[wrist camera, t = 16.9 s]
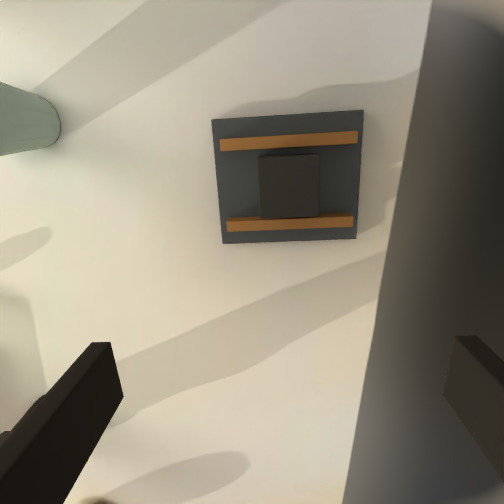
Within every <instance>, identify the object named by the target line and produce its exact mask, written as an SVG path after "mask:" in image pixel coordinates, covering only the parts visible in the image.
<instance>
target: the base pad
mask: <svg viewBox="0 0 504 504" xmlns="http://www.w3.org/2000/svg"><path fill="white" fill-rule="evenodd" d="M363 114H364V110H353V111H338V112H322V113H307V114H291V115H275V116H260V117H244V118H228V119H213V120H211V121H212V132H213V143H214V154H215V165H216V176H217V187H218V198H219V209H220V220H221V231H222V242H223V244H232V243H258V242H285V241H311V240H337V239H356V233H357V216H358V199H359V182H360V165H361V148H362V131H363ZM308 153H314V154H319V155H320V194H319V216H313V217H290V218H266V219H260V202H259V181H258V157H259V156H272V155H290V154H308Z"/></svg>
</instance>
